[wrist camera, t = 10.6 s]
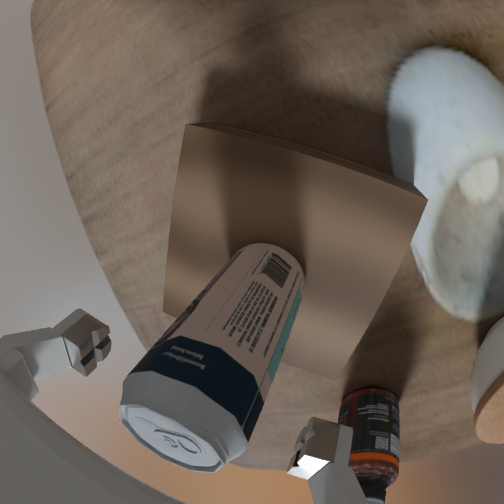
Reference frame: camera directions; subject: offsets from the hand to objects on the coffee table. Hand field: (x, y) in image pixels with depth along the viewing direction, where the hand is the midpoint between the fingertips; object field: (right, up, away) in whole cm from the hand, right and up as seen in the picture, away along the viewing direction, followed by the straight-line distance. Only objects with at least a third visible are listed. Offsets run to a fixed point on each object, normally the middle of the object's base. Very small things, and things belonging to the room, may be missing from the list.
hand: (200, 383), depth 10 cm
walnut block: (+4, +5, +12) cm, 14 cm away
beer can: (+3, +3, +9) cm, 10 cm away
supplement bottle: (+13, -10, +16) cm, 23 cm away
